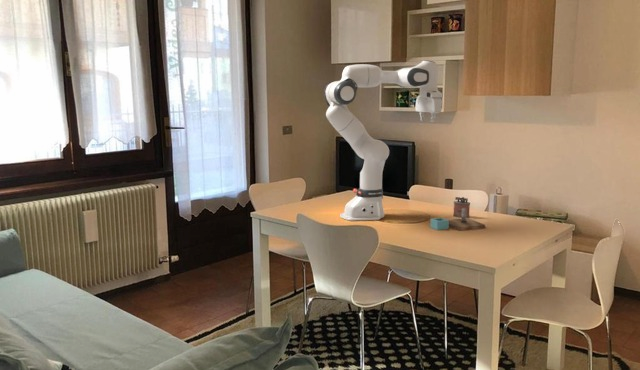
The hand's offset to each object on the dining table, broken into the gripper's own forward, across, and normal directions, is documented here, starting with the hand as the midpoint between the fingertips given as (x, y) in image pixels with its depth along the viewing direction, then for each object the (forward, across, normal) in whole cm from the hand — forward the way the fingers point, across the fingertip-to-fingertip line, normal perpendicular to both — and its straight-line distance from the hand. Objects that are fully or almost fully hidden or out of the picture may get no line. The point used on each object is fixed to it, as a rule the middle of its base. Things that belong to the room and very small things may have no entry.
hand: (427, 121), depth 285 cm
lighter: (+47, +16, +12) cm, 51 cm away
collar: (+47, +32, -10) cm, 58 cm away
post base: (+47, +32, +3) cm, 57 cm away
